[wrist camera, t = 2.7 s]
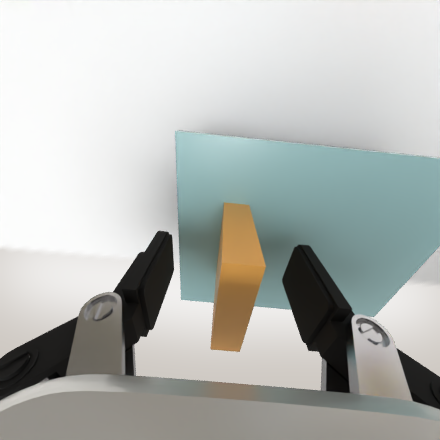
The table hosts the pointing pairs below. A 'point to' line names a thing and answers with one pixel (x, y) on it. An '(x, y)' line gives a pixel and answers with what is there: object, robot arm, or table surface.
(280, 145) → the lid
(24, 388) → the robot arm
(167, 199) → the table surface
